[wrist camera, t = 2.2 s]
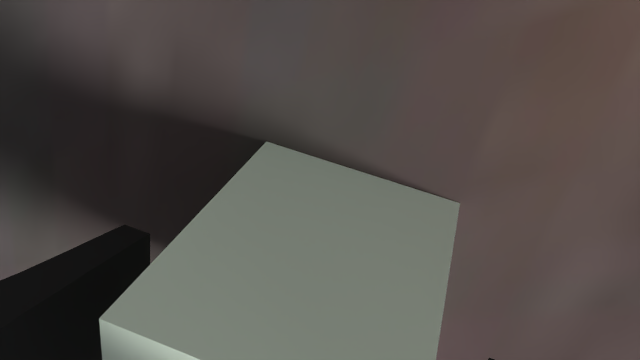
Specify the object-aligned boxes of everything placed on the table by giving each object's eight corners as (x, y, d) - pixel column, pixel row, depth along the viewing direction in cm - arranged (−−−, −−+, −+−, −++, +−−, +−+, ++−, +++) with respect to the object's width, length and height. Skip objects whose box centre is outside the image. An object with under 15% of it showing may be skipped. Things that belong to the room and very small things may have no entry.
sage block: (459, 202, 11) (422, 449, 6) (405, 341, 14) (346, 597, 9) (267, 141, 12) (99, 318, 7) (247, 282, 15) (111, 488, 10)
